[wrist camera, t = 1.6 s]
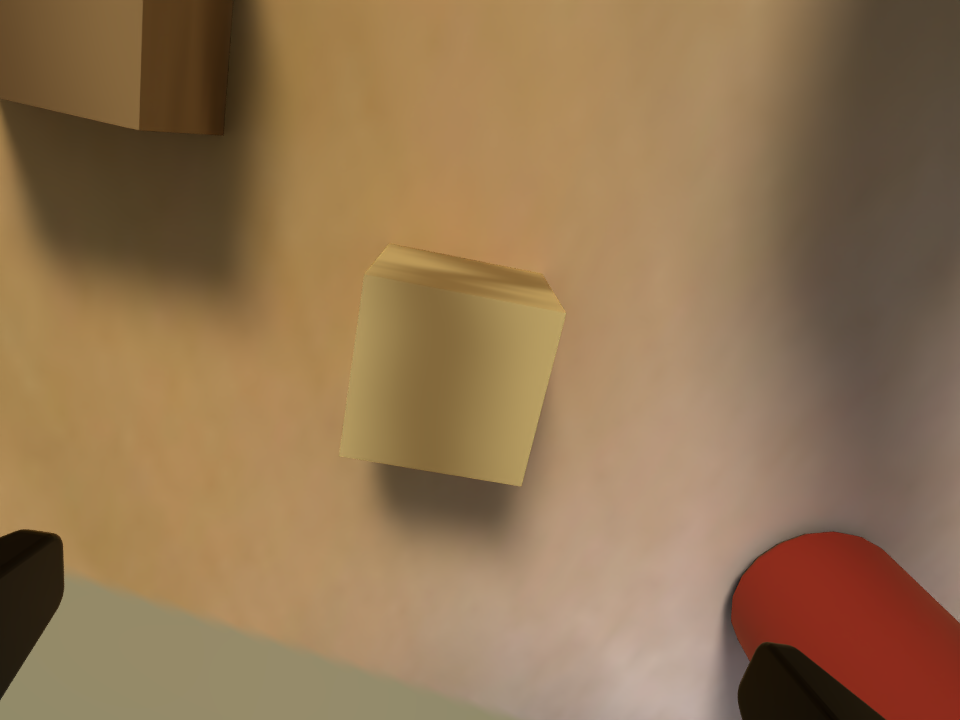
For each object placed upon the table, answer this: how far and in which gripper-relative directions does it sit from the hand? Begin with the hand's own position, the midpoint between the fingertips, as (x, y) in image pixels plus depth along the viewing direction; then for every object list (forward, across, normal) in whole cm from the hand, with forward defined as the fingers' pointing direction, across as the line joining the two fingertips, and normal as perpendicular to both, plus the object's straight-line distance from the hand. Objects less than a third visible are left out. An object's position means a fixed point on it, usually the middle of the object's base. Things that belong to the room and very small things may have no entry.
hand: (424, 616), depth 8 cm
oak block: (+13, 0, 0) cm, 13 cm away
